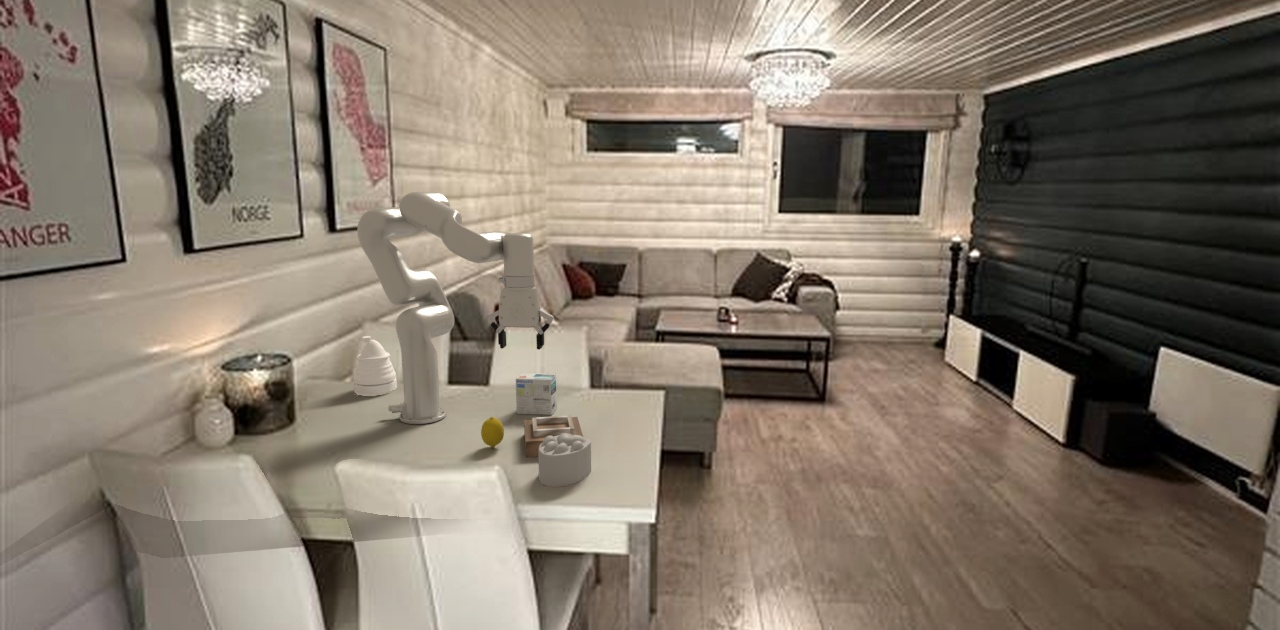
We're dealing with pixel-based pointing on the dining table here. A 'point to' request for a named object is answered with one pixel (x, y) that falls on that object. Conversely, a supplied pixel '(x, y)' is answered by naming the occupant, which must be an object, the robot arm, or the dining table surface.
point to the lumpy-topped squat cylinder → (564, 459)
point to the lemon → (492, 432)
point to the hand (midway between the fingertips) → (521, 347)
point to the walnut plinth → (547, 430)
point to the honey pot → (374, 369)
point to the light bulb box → (536, 393)
